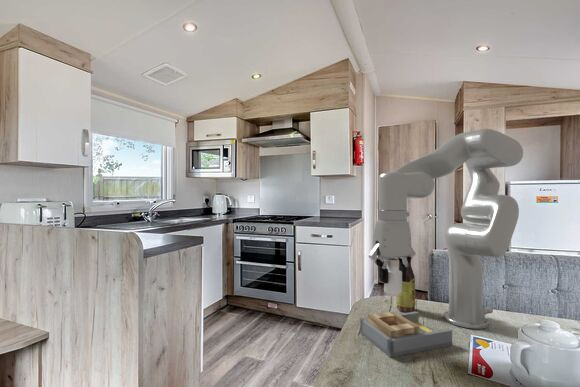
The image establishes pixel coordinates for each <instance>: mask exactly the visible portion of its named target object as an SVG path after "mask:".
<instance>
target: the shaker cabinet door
mask: <svg viewBox="0 0 580 387" xmlns="http://www.w3.org/2000/svg"><path fill="white" fill-rule="evenodd" d="M399 314H400V313H397V312H396V311H389V312H381V313H373V314H367V318H368V322H369V323H370V324H372V325H373V326H374V327H376V328H377V329H378V330H380V331H381V332H383V333H384V334H385V335H387V336H388V337H389V338H391V339H392V338H397V337H403V336H409V335H415V334H419V326H418V325H416V324H414V323H413V322H411V321H409V320H407V319H406V318H404V317H402V316H401V315H399Z"/></svg>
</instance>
